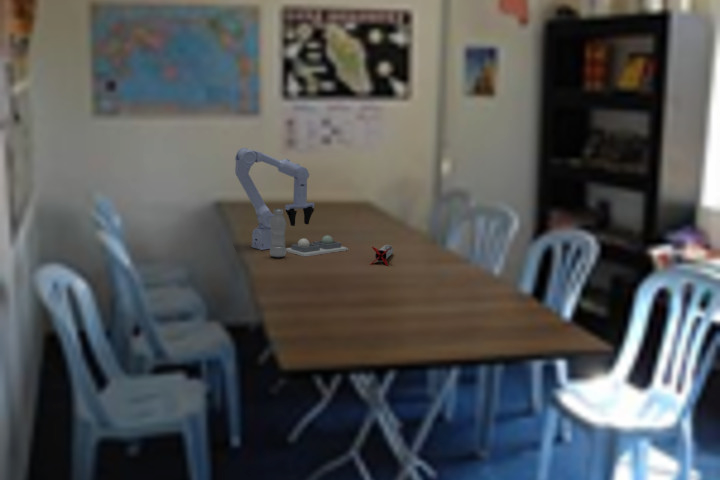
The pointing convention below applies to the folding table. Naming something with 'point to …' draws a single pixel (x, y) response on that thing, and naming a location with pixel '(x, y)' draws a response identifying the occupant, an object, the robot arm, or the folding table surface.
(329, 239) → the sage ball
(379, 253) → the model rocket
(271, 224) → the plastic bottle
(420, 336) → the folding table surface
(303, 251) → the ball sorting tray
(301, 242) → the ivory ball
